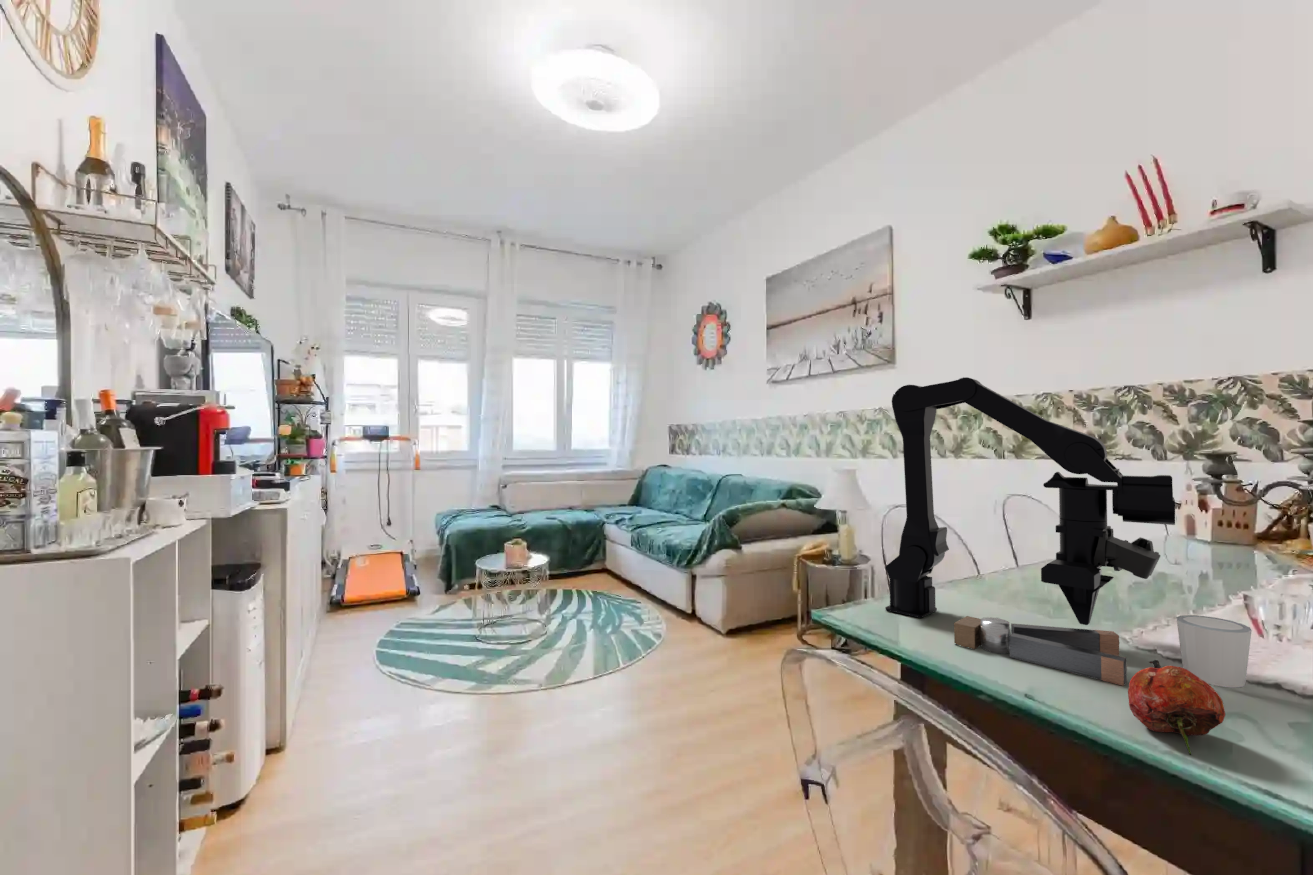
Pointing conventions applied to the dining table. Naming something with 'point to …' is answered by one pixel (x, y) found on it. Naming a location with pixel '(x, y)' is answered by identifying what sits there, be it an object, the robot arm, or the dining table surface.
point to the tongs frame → (1039, 650)
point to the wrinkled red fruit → (1174, 701)
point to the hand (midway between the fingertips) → (1084, 624)
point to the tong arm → (1072, 637)
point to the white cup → (1214, 649)
